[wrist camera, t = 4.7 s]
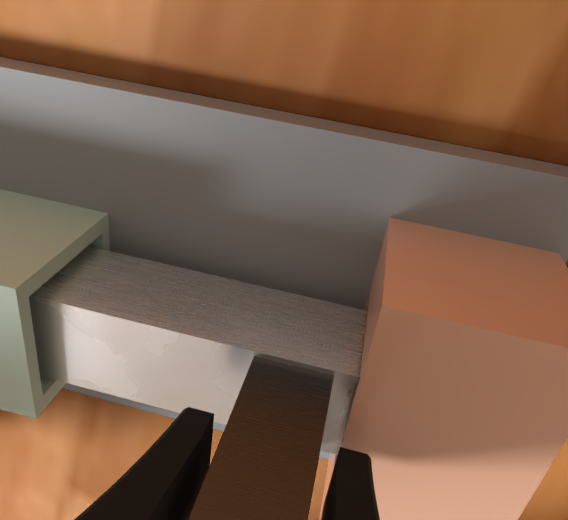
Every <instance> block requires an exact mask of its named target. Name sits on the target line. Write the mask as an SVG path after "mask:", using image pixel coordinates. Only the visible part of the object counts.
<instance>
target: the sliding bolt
mask: <svg viewBox="0 0 568 520" xmlns="http://www.w3.org/2000/svg"><path fill="white" fill-rule="evenodd" d="M29 303H30V310H31V317H32V324H33V331H34V338H35V344H36V351H37V358H38V365H39V372H40V376H42V377H46V378H50V379H54V380H57V381H61V382H65V383H69V384H72V385H76V386H80V387H84V388H87V389H91V390H95V391H99V392H102V393H106V394H110V395H114V396H118V397H121V398H125V399H129V400H133V401H136V402H140V403H144V404H148V405H151V406H155V407H159V408H163V409H167V410H170V411H174V412H178V413H181V412H182V411H183V409H185V408H187V407H191V408H195V409H198V410H202V411H206V412H210V413H214V422H215V423H219V424H223V425H226V427H225V429H224V432H223V434H222V437H221V439H220V442H219V444H218V447H217V449H216V452H215V454H214V457H213V459H212V462H211V464H210V467H209V469H208V472H207V474H206V477H205V479H204V482H203V484H202V487H201V489H200V492H199V494H198V497H197V499H196V502H195V504H194V507H193V509H192V512H191V514H190V517H189V520H307V519H308V514H309V509H310V503H311V498H312V493H313V487H314V482H315V476H316V471H317V466H318V460H319V455H320V450H321V451H325V452H328V453H332V454H336V455H338V452H339V448H340V447H341V443H342V439H343V436H344V432H345V429H346V425H347V422H348V418H349V415H350V411H351V408H352V404H353V401H354V397H355V393H356V390H357V386H358V383H359V379H360V371H361V363H362V355H363V347H364V339H365V330H366V322H367V314H368V311H366V310H362V309H357V308H353V307H349V306H344V305H340V304H336V303H332V302H327V301H323V300H319V299H314V298H310V297H306V296H301V295H297V294H293V293H289V292H284V291H280V290H276V289H271V288H267V287H263V286H258V285H254V284H250V283H246V282H241V281H237V280H233V279H228V278H224V277H220V276H215V275H211V274H207V273H203V272H198V271H194V270H190V269H185V268H181V267H177V266H172V265H168V264H164V263H160V262H155V261H151V260H147V259H142V258H138V257H134V256H129V255H125V254H121V253H117V252H112V251H108V250H104V249H99V248H95V247H91V246H87V247H86V248H85V249H84V250H83V251H81V252H80V253H79V254H78V255H77V256H76V257H74V258H73V259H72V260H71V261H70V262H69V263H68V264H66V265H65V266H64V267H63V268H62V269H61V270H59V271H58V272H57V273H56V274H55V275H54V276H53V277H51V278H50V279H49V280H48V281H47V282H46V283H44V284H43V285H42V286H41V287H40V288H39V289H38V290H36V291H35V292H34V293H33V294H32V295H31V296H29Z"/></svg>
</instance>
